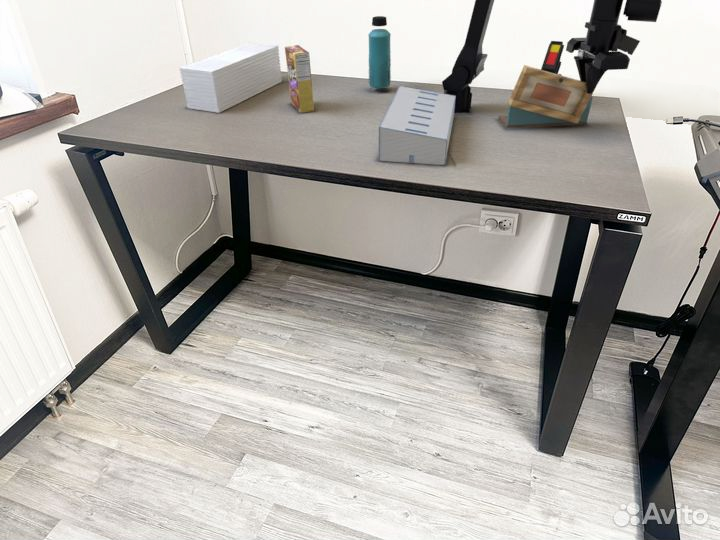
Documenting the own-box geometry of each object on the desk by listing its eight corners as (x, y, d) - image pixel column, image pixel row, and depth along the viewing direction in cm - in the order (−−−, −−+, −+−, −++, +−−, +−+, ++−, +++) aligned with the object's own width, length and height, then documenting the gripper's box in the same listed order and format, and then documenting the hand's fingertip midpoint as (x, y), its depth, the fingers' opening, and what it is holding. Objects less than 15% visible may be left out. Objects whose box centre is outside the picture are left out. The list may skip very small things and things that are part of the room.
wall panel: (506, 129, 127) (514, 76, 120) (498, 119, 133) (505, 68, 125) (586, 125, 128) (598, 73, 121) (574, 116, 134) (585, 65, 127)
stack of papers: (253, 78, 168) (248, 42, 162) (281, 81, 164) (278, 45, 158) (187, 108, 144) (179, 67, 138) (218, 113, 140) (211, 71, 134)
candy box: (289, 104, 146) (284, 46, 137) (304, 101, 147) (299, 44, 138) (299, 113, 139) (294, 53, 130) (314, 111, 140) (310, 51, 132)
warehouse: (445, 165, 110) (448, 130, 106) (378, 160, 113) (378, 126, 109) (453, 117, 134) (456, 88, 130) (398, 115, 137) (399, 85, 132)
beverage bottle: (390, 93, 152) (392, 18, 141) (368, 93, 152) (367, 18, 141) (390, 86, 158) (391, 14, 146) (368, 87, 158) (367, 14, 146)
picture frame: (510, 106, 121) (527, 67, 116) (507, 103, 123) (524, 64, 118) (578, 124, 125) (596, 86, 120) (574, 120, 127) (592, 84, 122)
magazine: (557, 86, 149) (564, 40, 137) (547, 119, 144) (554, 74, 131) (544, 85, 151) (550, 39, 138) (533, 117, 145) (538, 73, 133)
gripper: (664, 25, 106) (641, 102, 115) (619, 10, 121) (602, 79, 130) (611, 27, 105) (592, 105, 114) (572, 11, 120) (558, 81, 129)
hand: (587, 91), depth 122 cm, fingers closed on picture frame, 2 cm apart
